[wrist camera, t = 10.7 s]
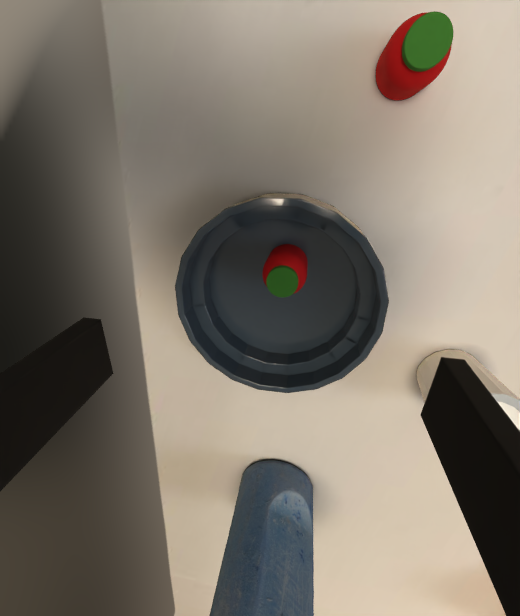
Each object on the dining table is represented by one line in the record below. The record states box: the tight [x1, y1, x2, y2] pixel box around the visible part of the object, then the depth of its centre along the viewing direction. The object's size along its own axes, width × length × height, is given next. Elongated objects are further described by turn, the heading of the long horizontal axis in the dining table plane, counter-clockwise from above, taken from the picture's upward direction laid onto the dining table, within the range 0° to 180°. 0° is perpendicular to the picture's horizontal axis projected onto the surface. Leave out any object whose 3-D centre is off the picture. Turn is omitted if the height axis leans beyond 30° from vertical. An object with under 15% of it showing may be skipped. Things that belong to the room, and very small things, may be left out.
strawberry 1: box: [262, 244, 308, 298], centre depth 25 cm, size 4×4×5 cm
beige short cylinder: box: [416, 349, 520, 431], centre depth 26 cm, size 7×7×7 cm
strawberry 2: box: [376, 12, 453, 100], centre depth 18 cm, size 4×4×5 cm
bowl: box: [175, 193, 389, 393], centre depth 27 cm, size 17×17×4 cm
